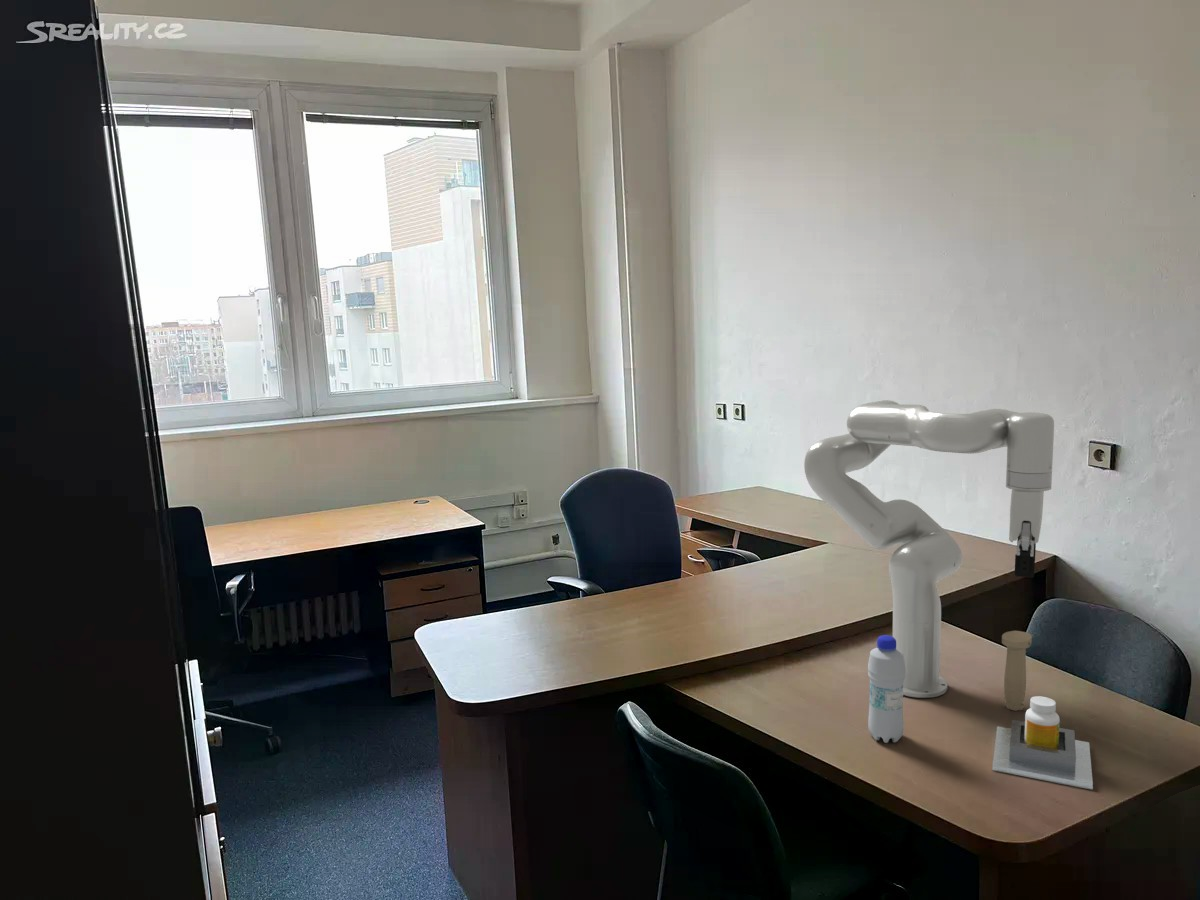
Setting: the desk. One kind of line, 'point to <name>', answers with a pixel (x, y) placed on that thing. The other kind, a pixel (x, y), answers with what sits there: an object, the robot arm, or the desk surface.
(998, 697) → the desk surface
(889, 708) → the bottle
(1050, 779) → the socket
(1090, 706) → the desk surface
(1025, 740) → the supplement bottle
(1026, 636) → the handle
